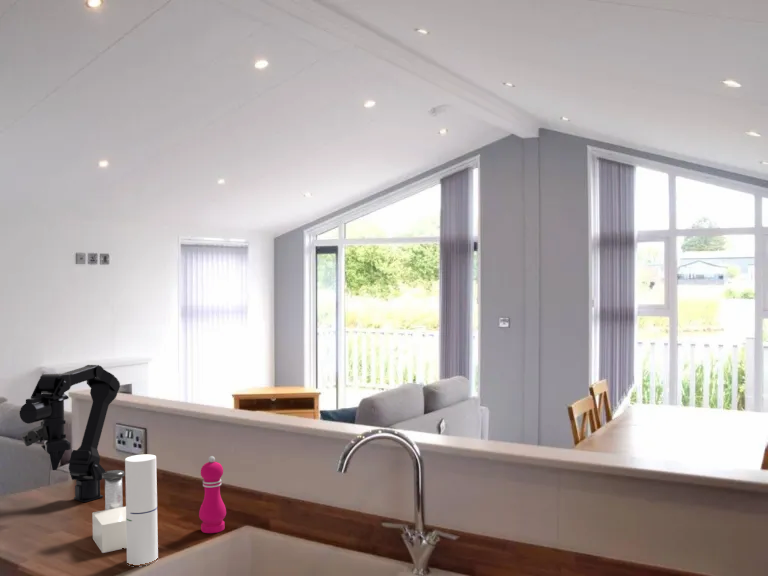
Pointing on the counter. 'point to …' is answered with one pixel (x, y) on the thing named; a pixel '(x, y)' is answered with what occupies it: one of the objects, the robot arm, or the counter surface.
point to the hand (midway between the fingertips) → (54, 469)
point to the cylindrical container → (141, 509)
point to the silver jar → (113, 489)
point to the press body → (110, 529)
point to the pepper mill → (212, 498)
